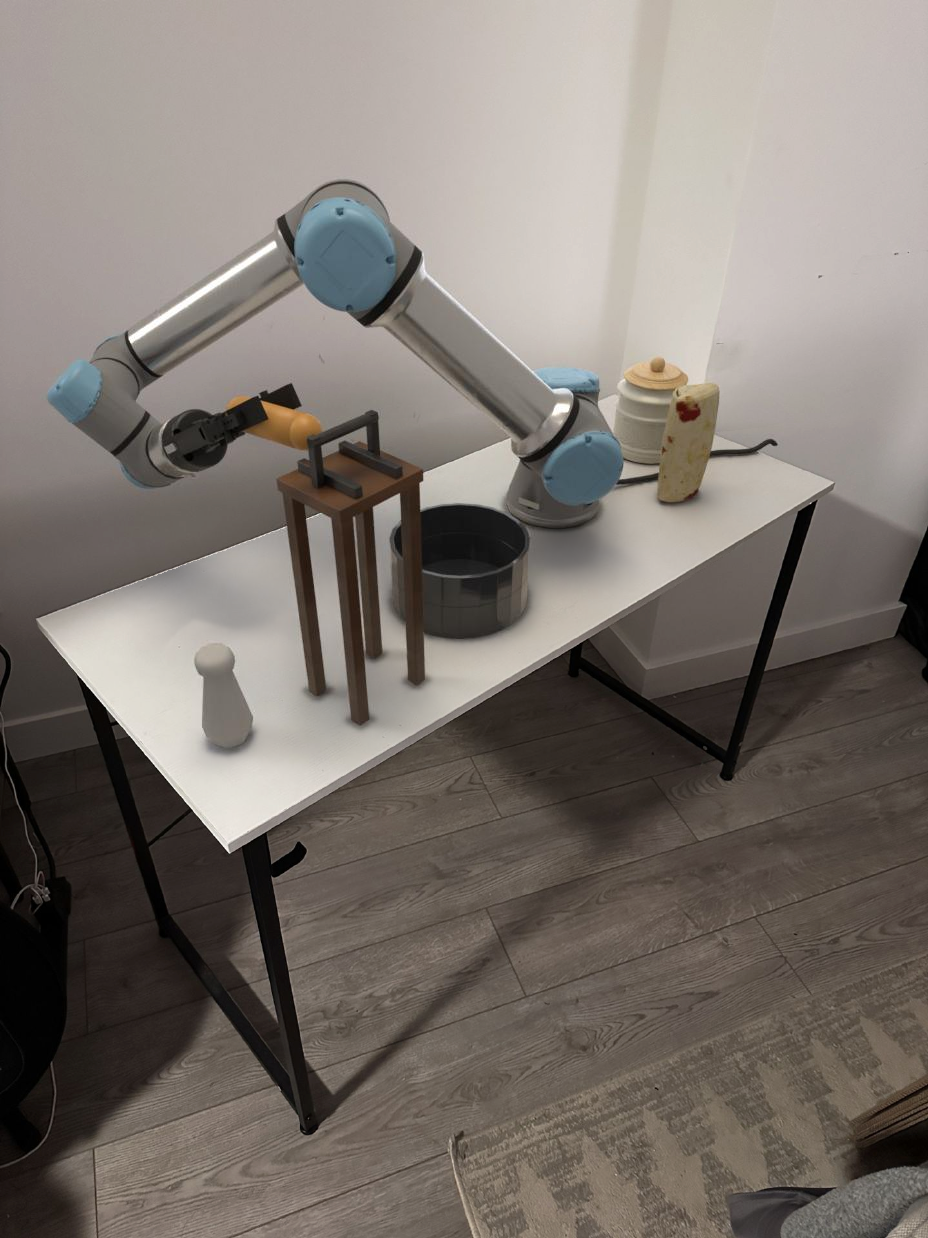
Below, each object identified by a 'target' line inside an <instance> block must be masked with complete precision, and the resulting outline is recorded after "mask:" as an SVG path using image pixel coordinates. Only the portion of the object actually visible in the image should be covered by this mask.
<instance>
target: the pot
mask: <svg viewBox="0 0 928 1238" xmlns="http://www.w3.org/2000/svg"><path fill="white" fill-rule="evenodd" d="M420 515H421V551H422V586H423V622H424V634H428V635H431V636H436V637H440V638H446V639H459V640H460V639H474V638H480V637H485V636H489V635H492V634H495V633H498V632H500V631H502V630H504V629H506V628H508V627H509V626H511V625H512V624H514V623H516V621H517V620H518V619H519V618H520V617H521V615H522V614H523V612H524V610H525V608H526V605H527V599H528V598H527V596H528V584H529V565H530V549H531V536H530V534H529V532H528V529H527V527H526V526H525V525H524V524H523V523H522V521H521V520H520V519H518V518H517V517H515V516H514V515H512V514H511V513H508V512H506V511H503V510H500V509H498V508H495V507H492V506H487V505H484V504H483V505H482V504H478V503H467V502H466V503H465V502H455V503H454V502H452V503H441V504H437V505H431V506H426V507H424V508H420ZM388 541H389V557H390V576H391V578H390V579H391V595H392V603H393V607H394V610H395V611H396V613H397V615H398V616H399V617H400V618H401V620H403V621H404V622H405V600H404V577H403V554H402V531H401V519H400V520H399V521H398V522H397V523H396V524H395V526H394V527H393V528H392V529H391V533H390V536H389V539H388Z"/></svg>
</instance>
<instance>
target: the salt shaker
mask: <svg viewBox="0 0 928 1238" xmlns="http://www.w3.org/2000/svg"><path fill="white" fill-rule="evenodd" d="M193 663H194V664H193V665H194V668H195V670H196V672H197V674H198V676H200V677H202V678H203V679H202V704H201V705H202V711H201V728H202V730H203V733H204V735H205V737H206V738H207V739H208V740H209V741H210V742H211V743H213V745H215V746H217V747H221V748H223V749H227V750H230V749H232V748H235V747H238V746H241V745H244V744H245V742H246V740H247V737H248V735H249V733H250V731H251V730H252V727H253V722H254V715H253V713H252V712H251V711H252V710H251V709H250V707H249V704H248V702H247V699H246V697H245V695H244V693H243V691H242V689H241V687H240V684H239V682H238V679H237V677H236V675H235V673H234V669H235V664H236V656H235V654H234V652H233V650H232V649H231V647H230V646H228V645H226V644H224V643H217V642H213V643H209V644H206V645H204V646H202V647H201V648H199V650H198V651H197V652H196V653H195V655H194V659H193Z"/></svg>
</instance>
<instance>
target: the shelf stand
mask: <svg viewBox="0 0 928 1238" xmlns="http://www.w3.org/2000/svg"><path fill="white" fill-rule="evenodd" d="M379 420H380V416H379V412H378V411H377V410H374V409H370V410H367V411H365V412H364V414H361V415H359V416H357V417H354V418H352V419H350V420H347V421H345V422H342V423H340V424H338V425H336V426H333V427H331V428H328V429H326V430H323V432H321V433H319V434H317V435H315V434H313V435H311V436H308V437H307V445H308V451H307V453H308V459H307V458H305V457H304V458H302V459H299V460H297V462H296V464H297V469H294V470H293V471H290V472H288V473H286V474H283V475H281V476H279V477H277V478H276V479H275V480H276V487H277V492H279V493H281V494H282V501H283V508H284V516H285V524H286V531H287V537H288V545H289V552H290V561H291V565H292V575H293V582H294V590H295V597H296V603H297V610H298V619H299V620H298V621H299V627H300V633H301V634H300V635H301V642H302V650H303V656H304V663H305V671H306V679H307V685H308V691H309V692H310V693H312V694H313V695H315V696H316V697H319V696H320V695H321V694H323V693H324V692H326V691H327V682H326V681H327V680H326V674H325V666H324V657H323V647H322V640H321V632H320V623H319V615H318V614H319V613H318V606H317V598H316V590H315V582H314V573H313V565H312V556H311V555H312V554H311V547H310V540H309V532H308V531H309V530H308V523H307V514H306V507H309V508H311V510H314V511H316V512H318V513H320V514H321V515H324V516H326V517H328V518H330V522H331V531H332V540H333V551H334V559H335V560H334V562H335V570H336V582H337V590H338V591H337V592H338V601H339V608H340V609H339V611H340V612H339V613H340V620H341V622H340V623H341V632H342V642H343V643H342V644H343V653H344V659H345V660H344V662H345V669H346V670H345V671H346V681H347V690H348V702H349V712H350V720H351V721H352V722H353V723H355V724H356V725H358V726H362V725H363V724H364V723H366V722H368V721H369V720H370V707H369V695H368V683H367V672H366V670H367V669H366V661H365V660H366V659H365V658H366V657H365V655H367V656H368V657H370V658H372V659H373V660H375V659H376V658H378V657H379V656H381V655H382V654H383V639H382V637H383V636H382V623H381V609H380V594H379V578H378V577H379V576H378V564H377V548H376V546H377V545H376V533H375V531H376V529H375V517H374V507H376V506H378V505H380V504H381V503H384V502H386V501H388V500H389V499H391V498H393V497H395V496H397V495H399V507H400V520H401V531H402V554H403V577H404V600H405V621H404V622H405V641H406V664H407V680H408V681H409V682H410V683H413V684H414V685H415V686H418V685H419V684H421V683H422V682H424V681H425V680H426V667H425V666H426V661H425V657H426V656H425V633H424V622H423V586H422V551H421V515H420V510H421V486H420V484H421V483H422V482H424V468H422V467H420V466H419V465H415V464H413V463H410V462H409V461H406V460H405V459H401V458H399V457H397V456H395V455H392V454H390V453H388V452H387V451H386V452H385V451H383V450H381V441H380V426H379ZM363 428H365V429H366V443H365V442H362V441H361V440H359V441H357V442H355V443H352V442H350V441H347V440H342V441H339V442H338V443H337V444H338V450H337V451H334V452H332V453H330V454H328V455H326V456H324V457H323V450H322V446H324V445H327V444H329V443H332V442H333V441H336V440H338V439H340V438H342V437H344V436H347V435H349V434H352V433H354V432H356V431H359V430H361V429H363ZM305 506H306V507H305ZM354 523H355V524H354ZM354 525H355V526H354ZM355 537H356V538H355ZM356 547H357V549H356ZM357 560H358V561H357ZM359 585H360V587H359ZM360 597H361V599H360ZM361 610H362V611H361ZM364 646H365V647H364Z"/></svg>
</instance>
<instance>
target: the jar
mask: <svg viewBox="0 0 928 1238" xmlns="http://www.w3.org/2000/svg"><path fill="white" fill-rule="evenodd" d="M688 382H689V376H688V375H687V374H686V373H685V372H684V371H683V370H682V369H680V367H678V366H676V365H675V364H672V363H669V362H666V360H665V359H664V357H662V356H654V357H653V358H652V359H651V360H649V361H648V360H647V361H642V362H638V363H636V364H634V365H633V366H631V367H628V368H627V369H626V370H625V371H624V373H623V379H622V380H620V381H619V382H618V384H617V391H618V393H619V397H618V398H617V400H616V401H615V412H614V413H615V415H614V423H613V429H612V430H613V431H612V433H613V435H614V436H615V438H616V439H617V440H618V441H619V443H620V446H621V451H622V454H623V459H625V460H628V461H631V462H633V463H634V462H635V463H640V464H651V465H652V464H660V458H661V448H662V440H663V435H664V431H665V427H666V423H667V418H668V414H669V409H670V404H671V400H672V395H673V392H674V390H675V389H676V388H677V387H678V386H680V385H685V384H686V385H688Z"/></svg>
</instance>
